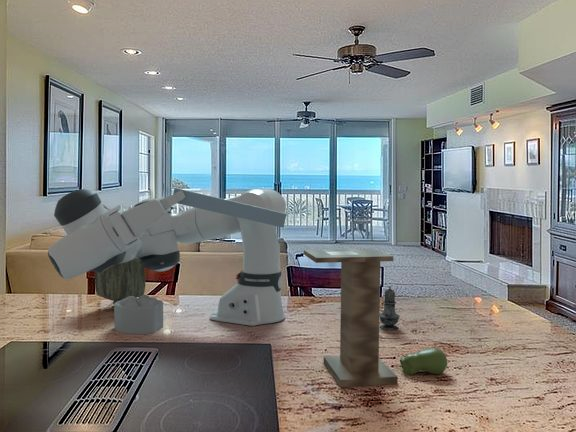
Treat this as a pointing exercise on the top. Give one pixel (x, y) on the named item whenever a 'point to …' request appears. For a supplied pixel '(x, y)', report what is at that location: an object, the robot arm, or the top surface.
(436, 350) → the pear
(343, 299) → the shelf stand
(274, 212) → the batten
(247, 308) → the robot arm
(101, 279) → the tabletop clock
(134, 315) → the lumpy-topped squat cylinder
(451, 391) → the top surface
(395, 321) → the dark chess piece
